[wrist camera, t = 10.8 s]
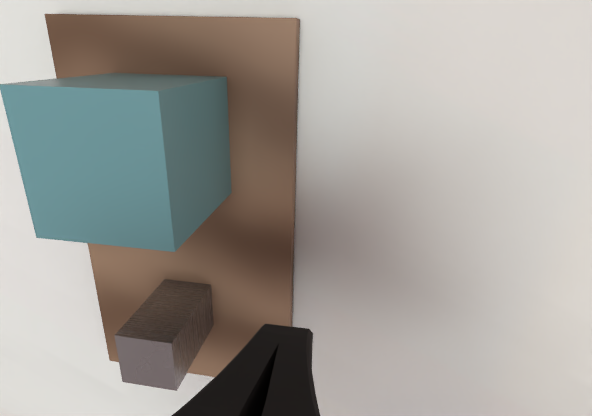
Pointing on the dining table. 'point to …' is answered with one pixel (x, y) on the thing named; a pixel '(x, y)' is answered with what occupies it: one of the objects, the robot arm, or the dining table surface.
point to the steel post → (165, 334)
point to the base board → (243, 162)
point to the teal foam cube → (121, 155)
